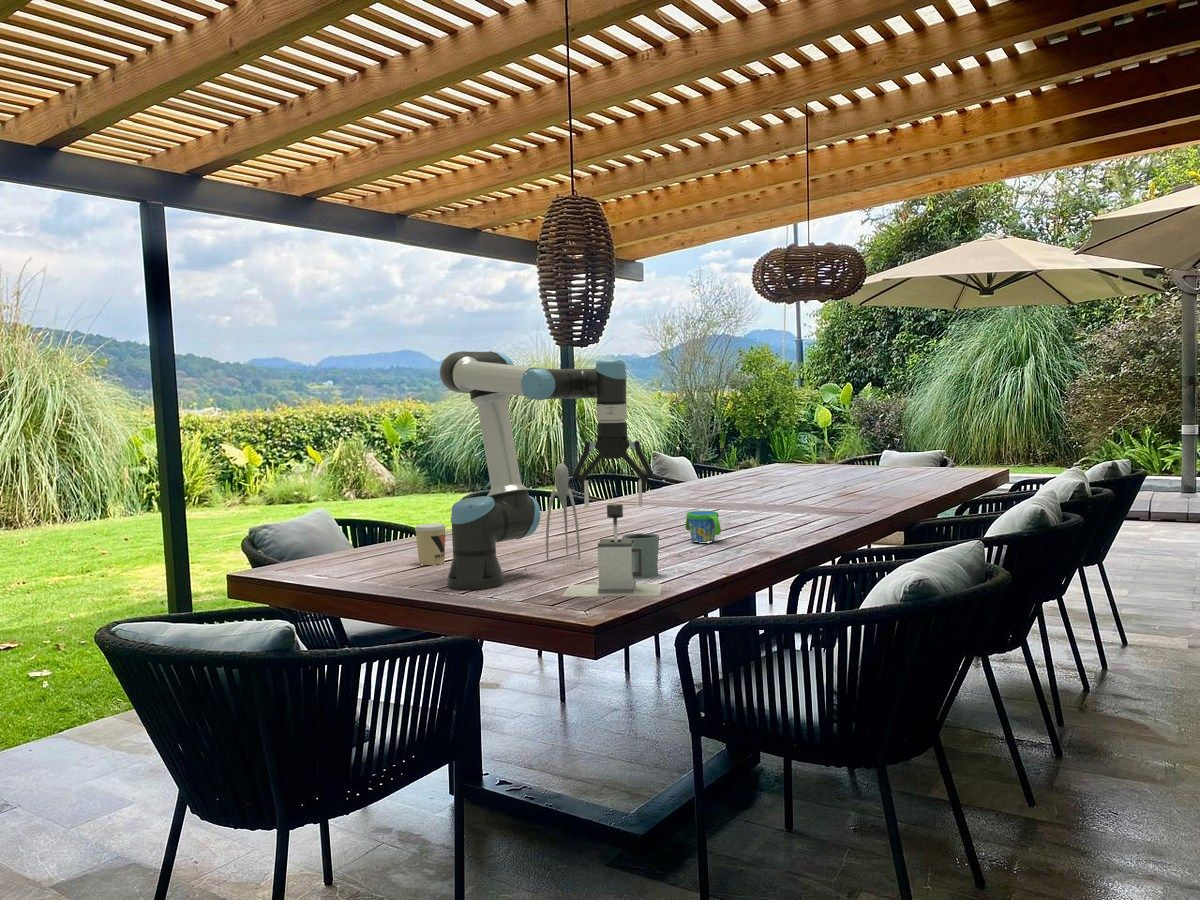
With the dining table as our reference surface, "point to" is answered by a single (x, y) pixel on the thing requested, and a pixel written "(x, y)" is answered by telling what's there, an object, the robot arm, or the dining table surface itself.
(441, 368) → the robot arm
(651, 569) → the green mug
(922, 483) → the dining table surface
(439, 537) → the coffee cup
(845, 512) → the dining table surface
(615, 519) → the plunger
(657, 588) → the plate
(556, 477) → the juicer
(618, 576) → the block
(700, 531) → the snack cup
